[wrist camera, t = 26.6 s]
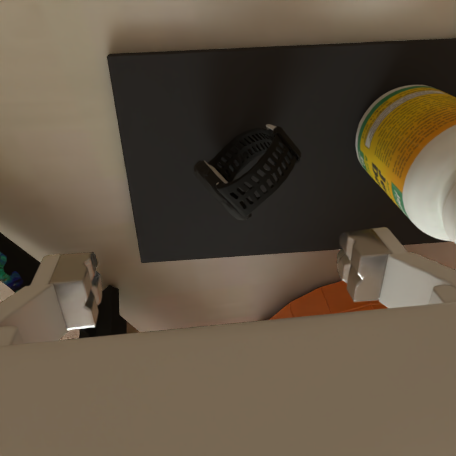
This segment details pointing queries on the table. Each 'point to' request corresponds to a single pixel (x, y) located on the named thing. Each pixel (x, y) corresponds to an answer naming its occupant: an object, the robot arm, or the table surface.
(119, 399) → the robot arm
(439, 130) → the supplement bottle
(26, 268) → the knife
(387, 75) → the mat
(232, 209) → the smartwatch
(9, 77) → the table surface
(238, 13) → the table surface
